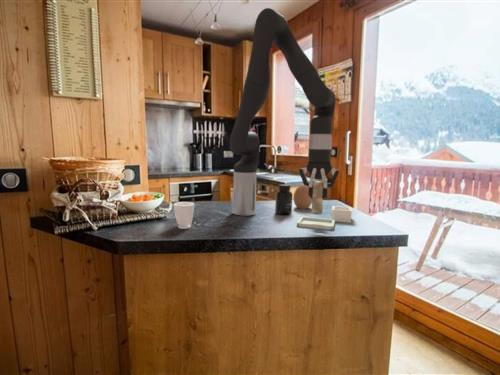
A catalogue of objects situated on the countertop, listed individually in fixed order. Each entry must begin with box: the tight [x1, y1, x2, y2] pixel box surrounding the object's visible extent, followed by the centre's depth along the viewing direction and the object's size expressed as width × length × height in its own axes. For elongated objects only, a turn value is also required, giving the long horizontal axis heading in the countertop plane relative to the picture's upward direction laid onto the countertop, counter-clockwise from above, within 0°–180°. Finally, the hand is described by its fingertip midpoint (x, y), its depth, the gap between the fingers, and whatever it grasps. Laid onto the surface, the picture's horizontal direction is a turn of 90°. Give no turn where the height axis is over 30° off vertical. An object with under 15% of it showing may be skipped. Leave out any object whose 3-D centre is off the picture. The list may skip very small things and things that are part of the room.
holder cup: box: [330, 205, 353, 223], centre depth 111 cm, size 7×7×5 cm
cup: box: [172, 201, 196, 230], centre depth 101 cm, size 7×10×8 cm
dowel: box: [311, 180, 324, 216], centre depth 101 cm, size 4×4×11 cm
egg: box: [292, 184, 312, 210], centre depth 129 cm, size 8×8×11 cm
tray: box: [296, 216, 336, 231], centre depth 103 cm, size 12×10×2 cm
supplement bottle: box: [274, 183, 293, 216], centre depth 121 cm, size 7×7×12 cm
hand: (317, 198), depth 102 cm, fingers closed on dowel, 3 cm apart
